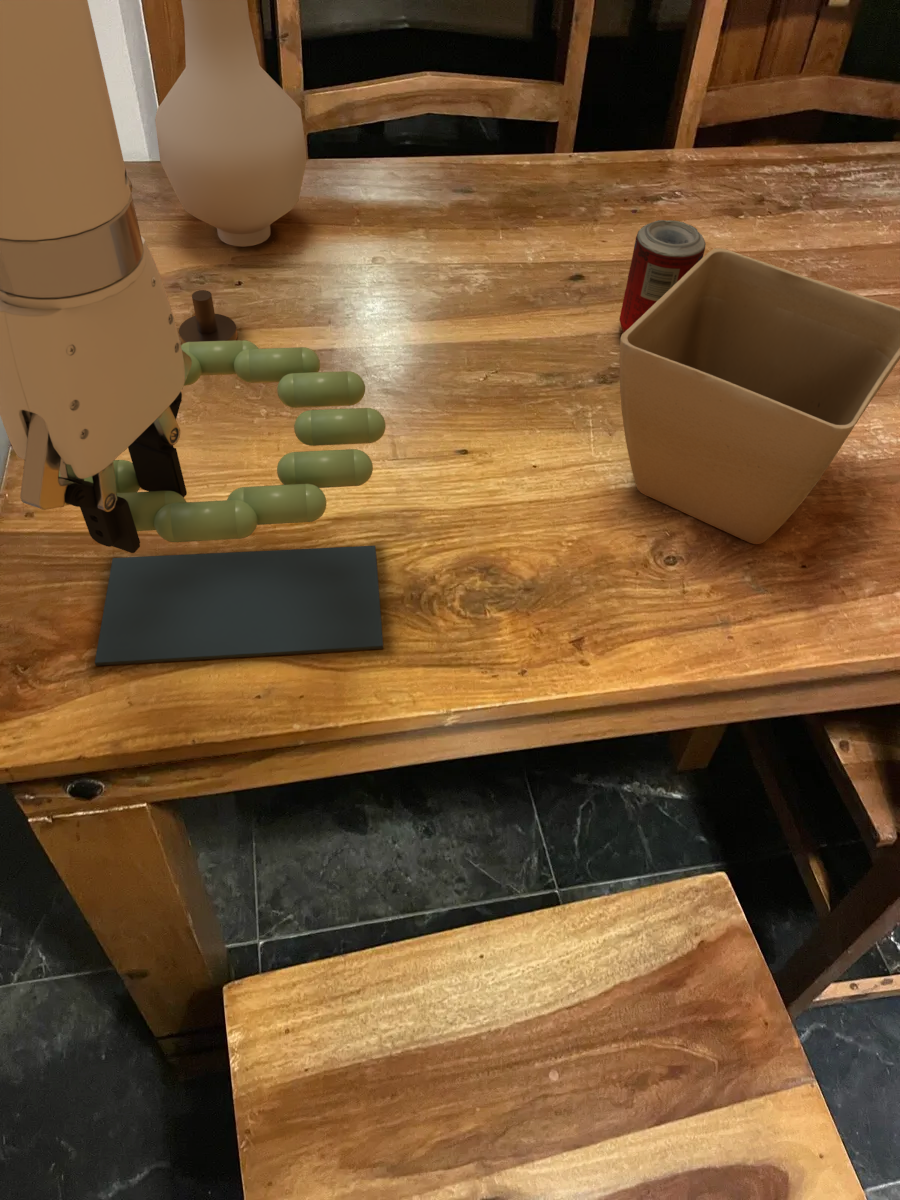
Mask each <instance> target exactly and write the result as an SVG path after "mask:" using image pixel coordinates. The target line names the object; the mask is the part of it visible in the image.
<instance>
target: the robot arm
mask: <svg viewBox="0 0 900 1200" xmlns="http://www.w3.org/2000/svg"><path fill="white" fill-rule="evenodd" d="M116 124H117V123H116V120H115V115H114V112H113V106H112V103H111V98H110V93H109V88H108V84H107V80H106V75H105V71H104V67H103V63H102V58H101V54H100V50H99V45H98V40H97V36H96V32H95V27H94V23H93V19H92V14H91V9H90V5H89V0H0V419H1V422H2V424H3V428H4V430H5V433H6V435H7V439H8V440H9V442H10V444H11V447H12V449H13V451H14V453H15V454H16V456H17V457H18V458H19V459H22V460H24V463H23V470H22V478H21V485H20V486H21V488H20V497H19V498H20V501H21V502H22V503H24V504H27V505H29V506H32V507H35V508H37V509H40V510H43V511H45V510H53V509H58V508H64V507H65V506H72V507H77V508H80V511H81V515H82V517H83V520H84V523H85V525H86V528H87V531H88V533H89V536H90V537H91V538H92V540H93V541H94V542H95V543H97V544H99V545H102V546H104V547H107V548H110V547H113V548H116V549H118V550H121V551H125V552H127V553H130V554H135V553H136V552H137V551H138V550H139V549H140V548H141V544H140V543H141V540H140V537H139V534H138V531H137V530H136V527H135V524H134V520H133V517H132V514H131V511H130V507H129V504H128V502H127V501H126V500H125V499H124V498H121V497H119V496H117V489H116V481H115V473H114V464H113V461H114V460H117V458H118V457H120V456H121V455H122V454H123V453H124V452H125V451H126V450H127V449H128V453H129V456H130V460H131V462H132V463H133V467H134V470H135V474H136V477H137V481H138V484H139V486H140V489H141V490H143V491H145V492H150V491H174V492H176V493H179V494H180V495H181V496H183V498H184V499H185V497H186V496H187V494H188V491H187V488H186V485H185V480H184V476H183V470H182V467H181V463H180V459H179V455H178V451H177V448H176V447H174V446H175V445H176V444H178V442H179V440H180V438H181V428H180V426H179V424H178V422H177V417H178V414H179V410H180V406H181V403H182V402H183V393H182V391H183V389H184V387H185V386H184V384H185V381H186V379H187V376H188V374H189V371H190V368H191V365H192V360H191V358H190V356H188V355H187V354H186V353H185V352H184V351H183V350H182V349H181V345H182V343H181V340H180V336H179V330H178V327H177V324H176V320H175V317H174V313H173V310H172V305H171V303H170V300H169V297H168V294H167V290H166V287H165V285H164V283H163V279H162V276H161V274H160V271H159V268H158V266H157V263H156V262H155V258H154V256H153V255H152V253H151V250H150V248H149V246H148V243H147V242H146V239H145V238H144V236H142V234H141V231H140V226H139V221H138V217H137V212H136V208H135V204H134V203H135V202H134V199H133V195H132V192H133V185H132V180H130V178H129V176H128V173H127V168H126V164H125V160H124V156H123V151H122V147H121V142H120V138H119V134H118V133H119V132H118V129H117V125H116ZM123 451H124V452H123ZM59 470H60V477H59ZM91 476H92V479H93V483H92V482H89V481H84V479H85V478H88V477H91Z"/></svg>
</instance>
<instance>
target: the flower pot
mask: <svg viewBox="0 0 900 1200" xmlns="http://www.w3.org/2000/svg"><path fill="white" fill-rule="evenodd" d="M620 335H621V336H620V337H619V338H620V340H619V393H620V404H621V406H620V407H621V415H622V423H623V431H624V437H625V443H626V449H627V454H628V458H629V459H628V460H629V465H630V469H631V473H632V477H633V480H634V484H635V485H636V486H635V487H636V489H637V490H638V492H640V494H642V495H645V496H646V497H649V498H651V499H653V500H655V501H657V502H660V503H662V504H664V505H666V506H668V507H671V508H673V509H675V510H677V511H679V512H681V513H683V514H686V515H689V516H691V517H692V518H694V519H697V520H699V521H700V522H704V523H706V524H707V525H710V526H712V527H714V528H716V529H719V530H721V531H722V532H725V533H727V534H730V535H732V536H734V537H736V538H738V539H740V540H742V541H745V542H747V543H750V544H753V545H760V544H763V543H765V542H767V541H768V540H769V539H770V537H772V536H773V535H774V534H775V533H776V532H777V531H779V529H780V528H781V527H782V526H783V525H784V524H785V523H786V522H787V520H789V518H791V516H792V515H793V514H794V513H795V511H796V510H797V509H798V508H799V507H800V505H801V504H802V503H803V502H804V501H805V499H806V498H807V497H808V496H809V494H810V493H811V491H812V490H813V488H814V487H815V486H816V485H817V483H818V482H819V481H820V479H821V478H822V476H823V475H824V473H825V472H826V470H827V469H828V468H829V466H830V465H831V463H832V462H833V460H834V458H835V457H836V456H837V454H838V452H839V451H840V450H841V448H842V446H843V445H844V444H845V442H846V440H847V439H848V437H849V436H850V434H851V433H852V431H853V430H854V428H855V426H856V424H857V423H858V422H859V420H860V418H861V417H862V416H863V414H864V412H865V411H866V410H867V408H868V406H869V405H870V404H871V402H872V401H873V399H874V397H875V396H876V395H877V394H878V392H879V390H880V389H881V388H882V386H883V385H884V383H886V380H887V379H888V377H889V376H890V374H891V373H892V371H893V370H894V368H895V367H896V365H897V364H898V363H899V361H900V307H897V306H894V305H891V304H888V303H885V302H882V301H879V300H876V299H873V298H870V297H867V296H864V295H861V294H858V293H855V292H852V291H849V290H847V289H843V288H840V287H838V286H835V285H833V284H829V283H826V282H823V281H820V280H817V279H815V278H812V277H809V276H806V275H802V274H800V273H796V272H794V271H792V270H788V269H785V268H782V267H779V266H777V265H774V264H771V263H768V262H765V261H762V260H759V259H757V258H755V257H754V258H753V257H751V256H748V255H744V254H741V253H740V252H739V253H738V252H736V251H733V250H730V249H727V248H722V247H716V248H715V247H714V248H713V249H710V250H709V251H708V252H707V253H705V255H703V258H702V259H701V260H700V261H699V262H698V263H696V264H695V265H694V266H693V267H692V268H691V269H690V270H689V271H688V272H687V273H686V274H685V275H684V276H683V277H682V278H681V279H680V280H679V281H678V282H677V283H676V284H675V285H674V286H673V287H672V288H671V289H670V290H668V291H667V292H666V293H665V294H664V295H663V296H662V297H661V298H660V299H659V300H658V301H657V302H656V303H655V304H654V305H653V306H652V307H651V308H650V309H648V310H647V311H646V312H645V313H644V314H643V315H642V316H641V317H640V318H639V319H638V320H637V321H636V322H635V323H634V324H633V325H632V326H631V327H630V328H629V329H627V330H626V331H625V332H624V333H623V332H622V334H620Z"/></svg>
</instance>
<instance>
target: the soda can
mask: <svg viewBox="0 0 900 1200" xmlns="http://www.w3.org/2000/svg"><path fill="white" fill-rule="evenodd" d="M706 245H707V243H706V240H705V238H704V236H703V234H701V233H700V232H699V231H698V229H697V228H696V227H694V226H693V225H692V224H688V223H686V222H684V221H679V220H665V219H660V220H655V221H652V222H650V223H647V224H645V225H643V226H642V227H641V228H640V229H639V230H638V231H637V233H636V236H635V240H634V246H633V251H632V256H631V261H630V266H629V270H628V275H627V281H626V285H625V290H624V296H623V298H622V299H623V300H622V305H621V309H620V315H619V323H620V327H621V329H622V334H623V333H624V332H625V331H626V330H627V329H629V328H630V327H631V326H632V325H633V324H634V323H635V322H636V321H637V320H638V319H639V318H640V317H641V316H642V315H643V314H644V313H645V312H646V311H647V310H648V309H650V308H651V307H652V306H653V305H654V304H655V303H656V302H657V301H658V300H659V299H660V298H661V297H662V296H663V295H664V294H665V293H666V292H667V291H668V290H670V289H671V288H672V287H673V286H674V285H675V284H676V283H677V282H678V281H679V280H680V279H681V278H682V277H683V276H684V275H685V274H686V273H687V272H688V271H689V270H690V269H691V268H692V267H693V266H694V265H695V264H696V263H698V262H699V261H700V260H701V259H702V258H703V257H704V256H705V255H704V254H705V250H706Z"/></svg>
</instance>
